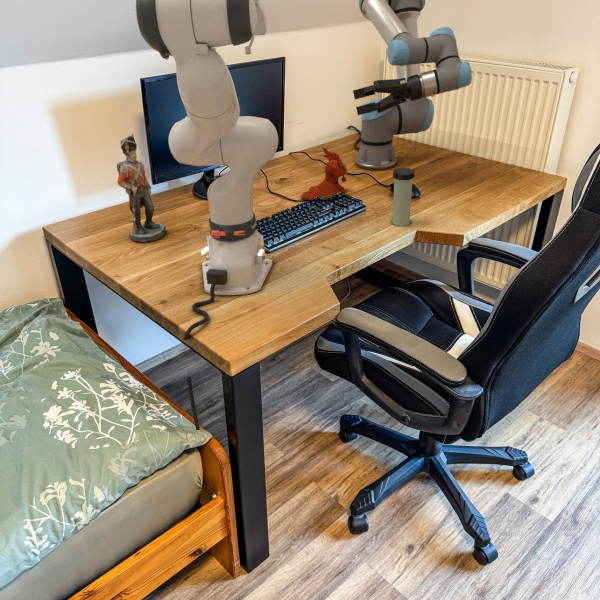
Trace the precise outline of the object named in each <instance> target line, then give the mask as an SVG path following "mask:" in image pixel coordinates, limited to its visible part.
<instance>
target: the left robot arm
mask: <svg viewBox="0 0 600 600" xmlns="http://www.w3.org/2000/svg"><path fill="white" fill-rule="evenodd" d="M260 2H261V0H135V10H134V11H135V21H136V25H137V27H138V30H139V32H140V35H141V37H142V39H143V40H144V41H145V42H146V44H147V45H148V46H149V47H150V48H151V49H153V50H154V51H156V52H158V53H159V55H160V57H161V58H162V59H164V60H169V58H170V57H173V59H174V61H175V71H176V82H177V88H178V92H179V96H180V99H181V101H182V104H183V107H184V109H185V112H186V116H185V117H184V118H183V119H180V120H178V121H176V122H175V123H174V124H173V125H172V127H171V129H170V131H169V134H168V148H169V151H170V153H171V155H172V156H173V158H174V159H175V161H177V162H178V163H179V164H181V165H182V164H183V165H188V166H195V167H212V166H213V167H214V166H227V167H228V168H229V170H228V172H227V173H225V174H224V175H222V176H219V177H218V178H216V179H215V180H213V181H212V182H211V183H210V185H209V186H208V188H207V191H206V195H207V203H208V212H209V218H208V229H209V234H208V235H207V236H206V243H207V246H206V247H205V248H204V249H202V250H201V251H200V252H201V255H204V254H205V253H207V252H208V255H206V256H205V260H204V261H203V262H202V263H201V268H202V278H203V290H204V292H205V293H207V294H210V298H209V299H207V300H204V301H197V302H194V303H193V304H192V306H191V309H192V310H193V312H195V313H197V314H200V315H202V316H204V318H202V319H201V320H199V321H195V322H194V323H193V324H191V325H190V326H189V327H188V328H187V330H186V331H185V333H184V338H183V341H187V340H189V338H190V334H191V333H192V331H194V330H195V329H196V328H198V327H200V326H202V325H204V324H205V323H207V322H208V321H209V318H210V316H209V313H208V312H206V311H205V310H203V309H200V308H198V307H202V306H207V305H209V304H212V303H213V302H214V300H215V298H216V296H239V295H240V296H241V295H249V294H253V293H256V292H259V291H260V290H261V288H262V287H263V286H264V283H265V280H266V278H267V276H268V274H269V273H270V271H271V268H272V266H273V265H274V264H273V260H272V259H271V258H268V257H266V249H265V242H264V235H263V234H262V233H260V232H259V231H258V230H257V218H256V214H255V212H254V200H253V194H254V192H253V191H254V184H255V181H256V178H257V175H258V174H259V172H260V171H261V169H262V168H263V167H264V166H265V165H266V164H267V163H269V161H271V160H272V158H274V156H275V154H276V152H277V150H278V147H279V135H278V134H279V133H278V131H277V129H276V127H275V124H273V122H271V120H270V119H268V118H264V117H258V116H251V115H242V116H241V115H240V113H241V110H240V109H241V108H240V103H239V100H238V99H239V98H238V96H237V95H238V94H237V91H236V87H235V83H234V80H233V77H232V75H231V72H230V70H229V67H228V65H227V64H226V62H225V60H224V59H223V57H222V56H221V55H220V54H219V52H217V48H220V47H227V46H231V45H232V46H233V47H235V46H239V45H244V44H246V43H248V45H247V46H244V50H245V51H244V52H245V55H252V46H253V43H254V41H255V36H264V35H266V33H267V32H268V26H267V25H268V24H267V17H266V13H265V9H264V7H263V5H262V4H261V3H260ZM186 381H187V389H188V395H189V402H190V406H191V412H192V417H193V422H194V426H195V431H196V430H200V429H201V428H200V424H199V417H198V414H197V408H196V402H195V396H194V389H193V383H192V377H191V376H187V377H186ZM200 431H201V430H200Z"/></svg>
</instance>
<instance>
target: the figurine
mask: <svg viewBox="0 0 600 600" xmlns="http://www.w3.org/2000/svg"><path fill="white" fill-rule="evenodd" d="M119 142H120V143H119V144H120V149H121V150H122V153H123V155H124V156H125V160H122V161H119V162H117V163H116V171H117V172H118V177H117V180H116V181H117V183H116V184H117V185H118V186H119V187H120V188H122V189H124V190H125V194H127V195H128V209H129V211H130V212H131V214H132V215H131V221H132V229H131V230H130V231H129V238H130V239H131V240H132V241H136V242H142V243H143V242H144V243H145V242H148V241H150V242H151V241H157V240H159V239H161V238H163V237H164V236H165V235H166V226H165V225H164V224H163V223H160V222H154V221H153V216H154V212H155V206H154V203H153V200H152V197H151V195H152V186H151V184H150V183H149V181H148V178H147V176H146V171H145V164H144V162H143V161H142V160H137V157H138V155H137V147H138V144H137V142H136V139H135V136H134V134H133V132H131V133H130V134H129V135H128V137H125V138H123V139H122V140H120V141H119ZM142 208H144V215H145V220H144V223H143V224H142V221H141V220H142V219H141V218H142V216H141V213H142V211H141V209H142Z"/></svg>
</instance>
